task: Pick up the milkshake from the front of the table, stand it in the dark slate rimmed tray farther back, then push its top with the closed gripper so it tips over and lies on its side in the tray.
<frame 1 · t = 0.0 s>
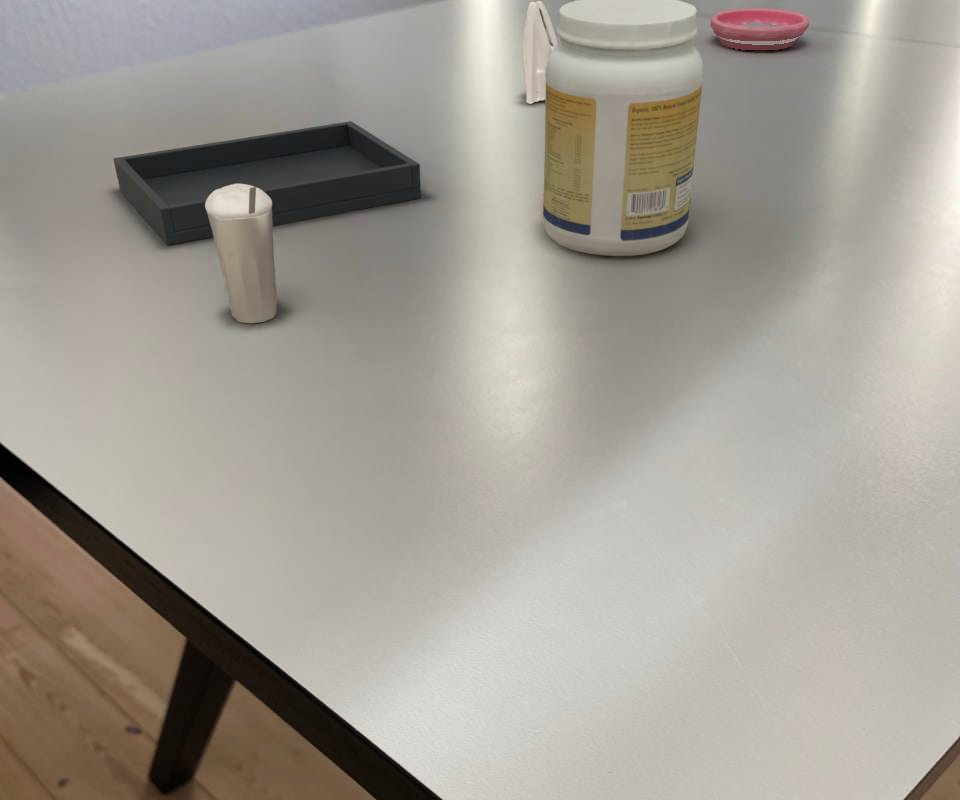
supplement tub: (613, 236, 95), on the table
milkshake: (257, 319, 83), on the table
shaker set: (571, 97, 128), on the table
tray: (269, 194, 103), on the table
saucer: (756, 45, 146), on the table
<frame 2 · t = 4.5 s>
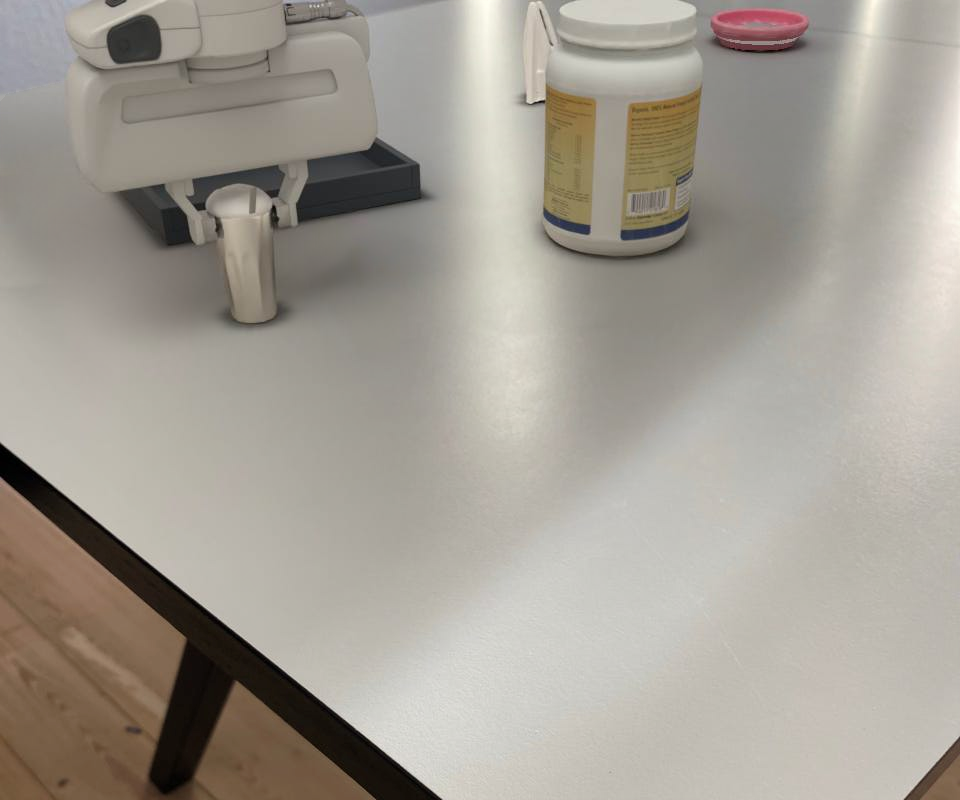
hand: (244, 233, 78), 6 cm above the table, tool pointing down, fingers closed on milkshake, 4 cm apart
milkshake: (257, 319, 83), on the table, touching gripper
everything else where it was.
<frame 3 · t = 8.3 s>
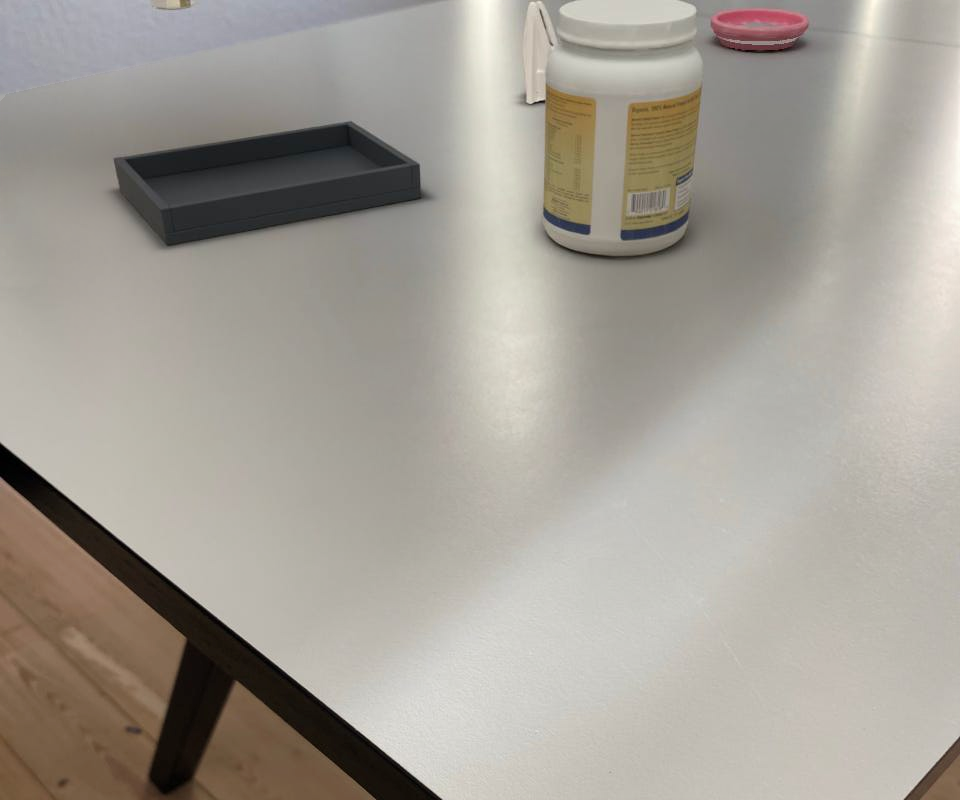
milkshake: (175, 9, 89), point 16 cm above the table, touching gripper
everything else where it was.
when the fingers open (7 cm above the table, at t = 12.3 s): milkshake stays where it is, resting on tray.
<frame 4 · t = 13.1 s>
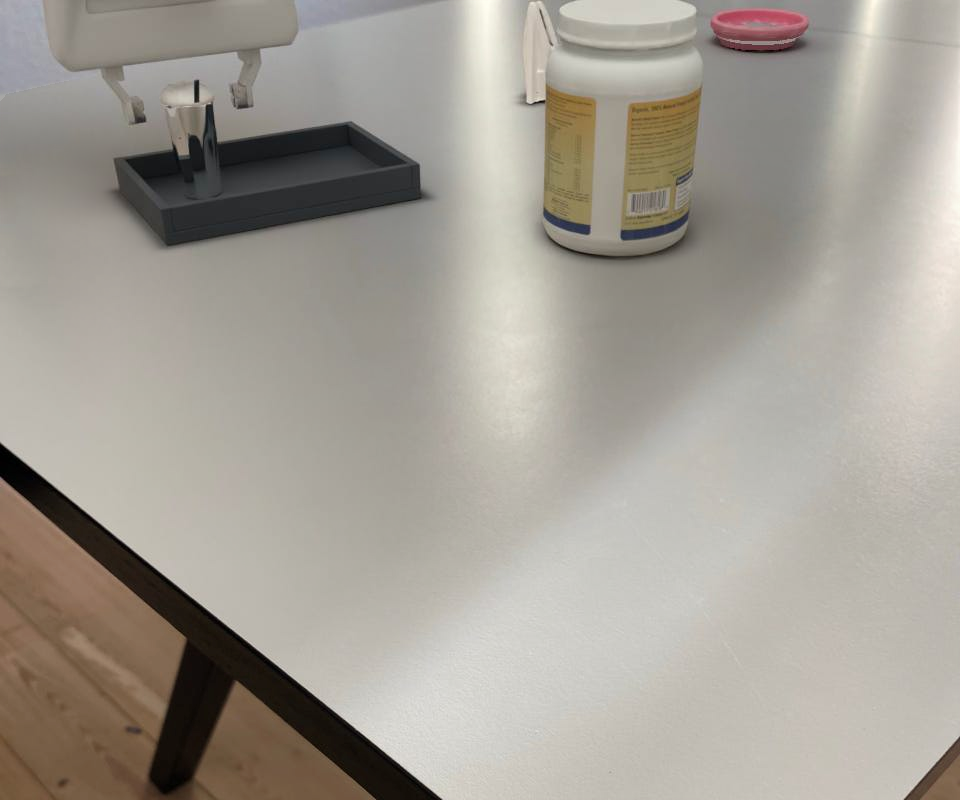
hand: (190, 114, 96), 8 cm above the table, tool pointing down, fingers open, 8 cm apart
milkshake: (205, 196, 100), point 1 cm above the table, touching tray
everything else where it was.
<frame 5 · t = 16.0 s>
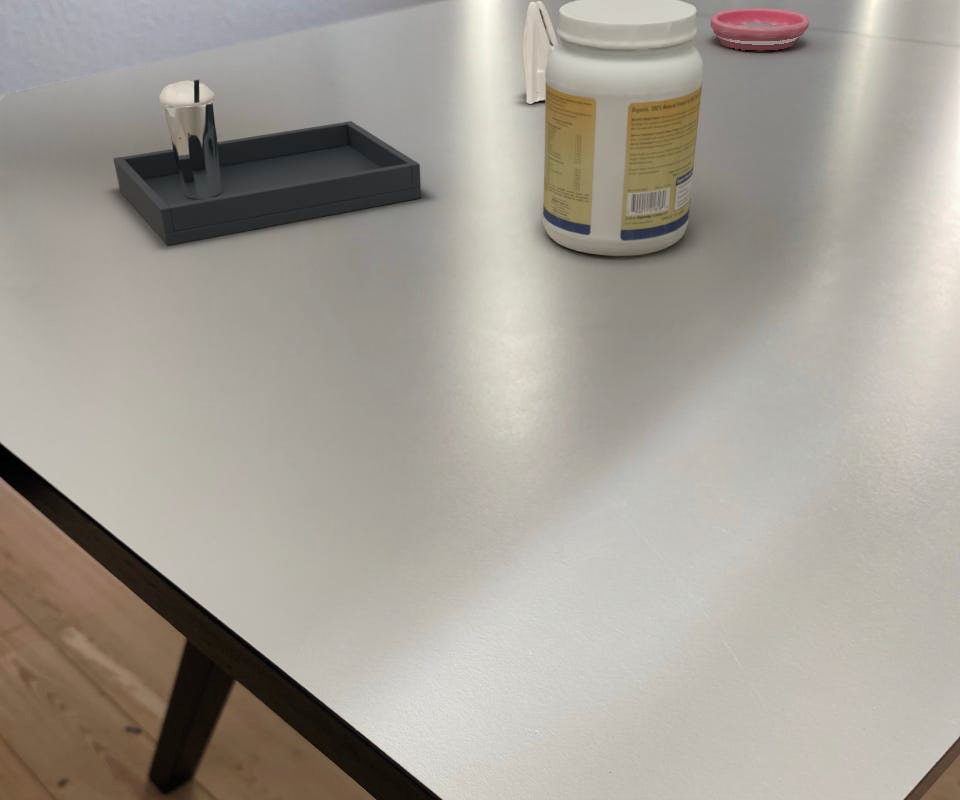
nothing on the table moved.
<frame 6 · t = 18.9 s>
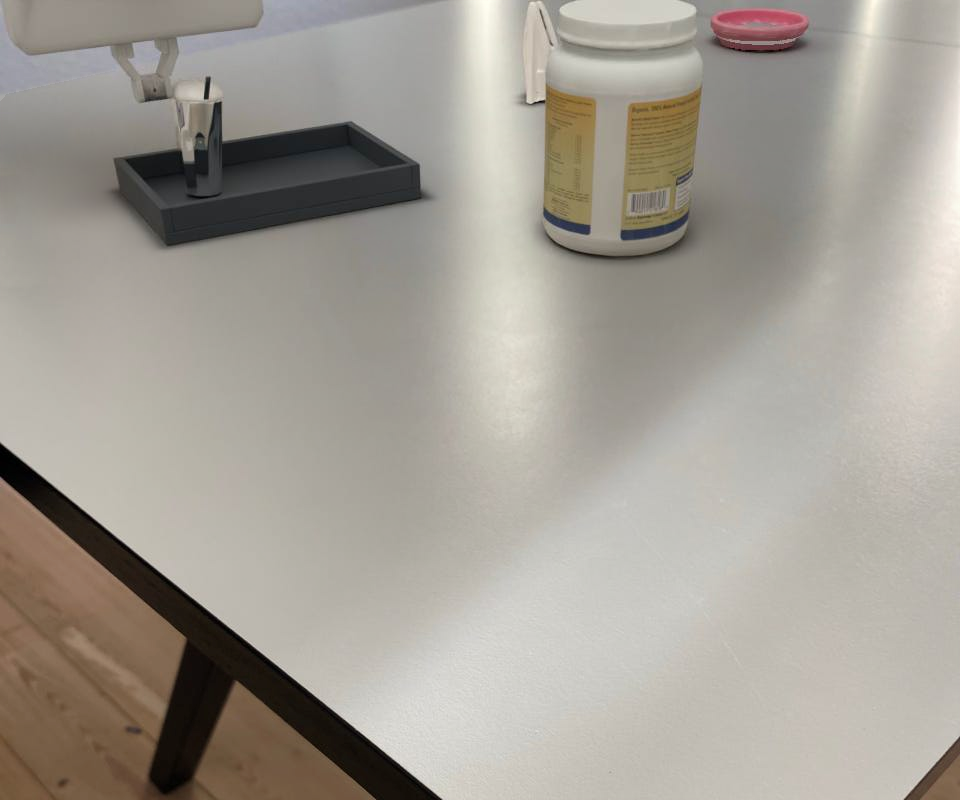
hand: (154, 99, 94), 9 cm above the table, tool pointing down, fingers closed
milkshake: (204, 195, 100), point 1 cm above the table, touching gripper, tray
everything else where it was.
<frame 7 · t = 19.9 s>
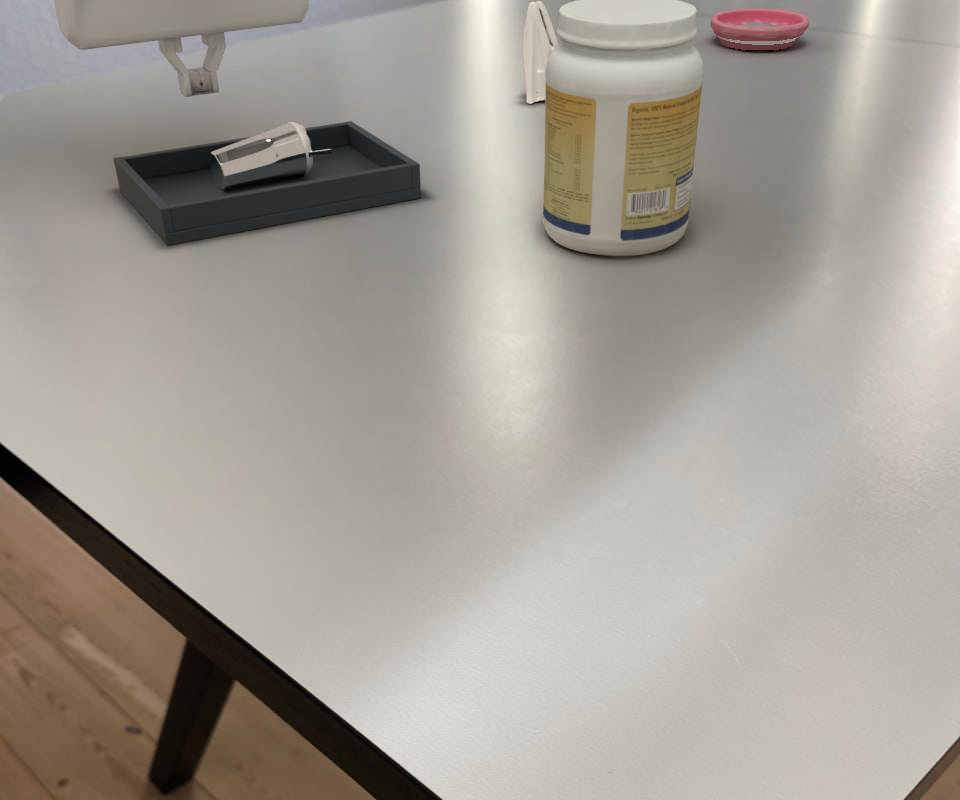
hand: (200, 93, 95), 9 cm above the table, tool pointing down, fingers closed
milkshake: (216, 173, 100), point 3 cm above the table, touching tray
everything else where it was.
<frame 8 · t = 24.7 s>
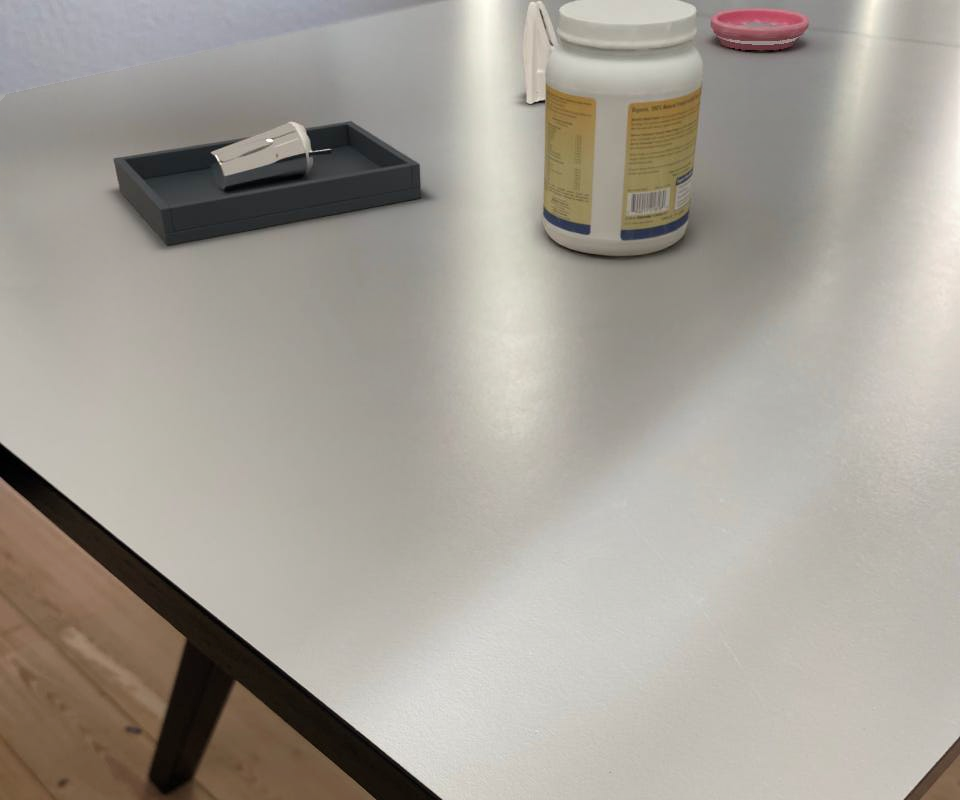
nothing on the table moved.
at the end: milkshake tilted 85°; milkshake inside the target area on the tray (4.6 cm from its centre), point 2.6 cm above the tray's base; the gripper is holding nothing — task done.
